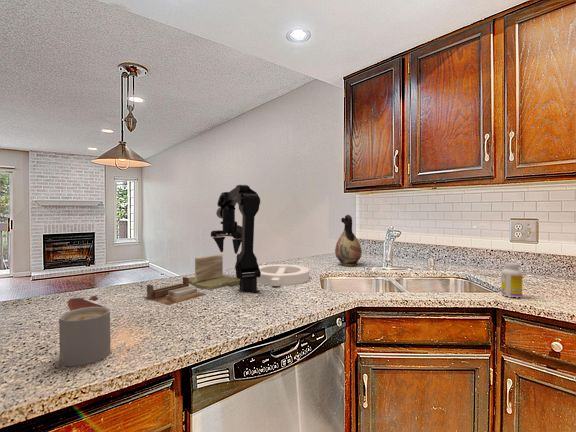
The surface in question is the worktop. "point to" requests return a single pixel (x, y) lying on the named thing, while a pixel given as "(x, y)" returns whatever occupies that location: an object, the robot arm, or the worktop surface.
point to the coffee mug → (84, 336)
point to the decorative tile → (215, 282)
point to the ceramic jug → (348, 245)
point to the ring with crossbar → (283, 274)
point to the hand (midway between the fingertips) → (228, 252)
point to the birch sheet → (208, 267)
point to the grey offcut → (182, 291)
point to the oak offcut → (178, 299)
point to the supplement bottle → (511, 280)
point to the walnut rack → (166, 292)
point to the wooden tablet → (82, 303)
